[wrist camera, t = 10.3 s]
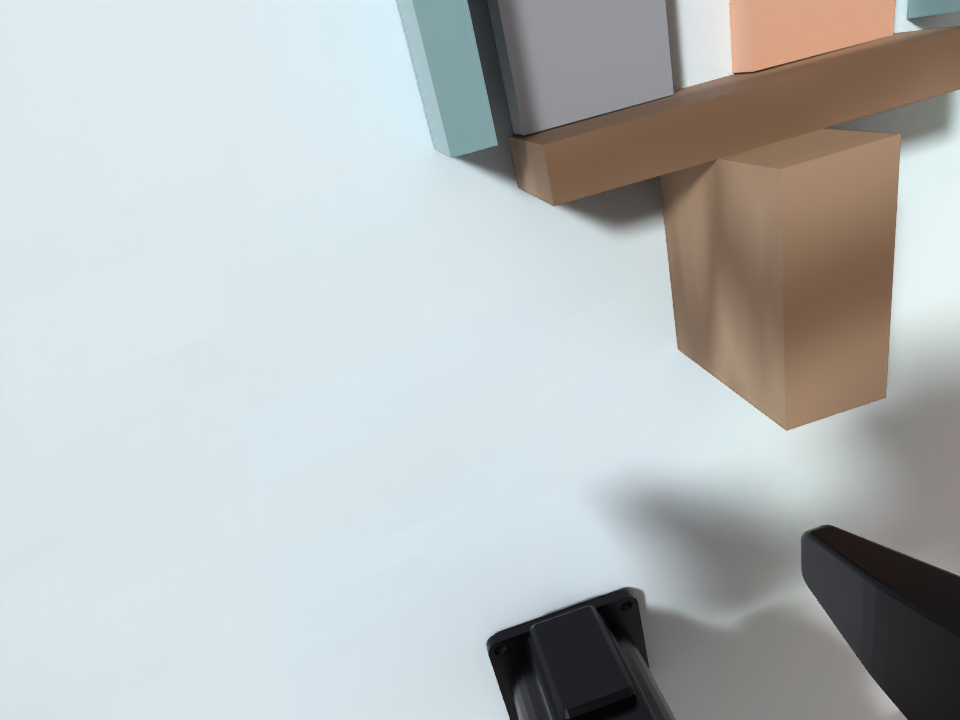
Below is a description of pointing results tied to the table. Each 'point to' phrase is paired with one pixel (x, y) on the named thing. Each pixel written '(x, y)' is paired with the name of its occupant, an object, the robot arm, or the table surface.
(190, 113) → the table surface
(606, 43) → the tile slate
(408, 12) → the teal corner frame
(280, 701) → the table surface
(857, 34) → the tile terracotta
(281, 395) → the table surface
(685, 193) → the scraper
